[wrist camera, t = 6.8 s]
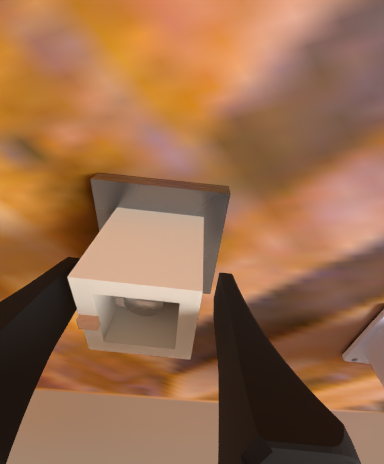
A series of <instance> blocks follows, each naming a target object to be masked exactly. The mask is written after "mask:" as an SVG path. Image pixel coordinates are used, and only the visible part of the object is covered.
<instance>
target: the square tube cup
mask: <svg viewBox="0 0 384 464" xmlns="http://www.w3.org/2000/svg"><path fill="white" fill-rule="evenodd" d="M203 241H204V217H200V216H191V215H182V214H173V213H164V212H155V211H146V210H137V209H127V208H118V207H117V208H116V209H115V211H114V212H113V214H112V215H111V216H110V218H109V219H108V221H107V222H106V223H105V225H104V226H103V228H102V229H101V230H100V232H99V233H98V235H97V236H96V237H95V239H94V240H93V242H92V243H91V244H90V246H89V247H88V249H87V250H86V251H85V253H84V254H83V256H82V257H81V258H80V260H79V261H78V263H77V264H76V265H75V267H74V268H73V270H72V271H71V272H70V274H69V275H68V277H67V278H68V281H69V284H70V288H71V291H72V294H73V298H74V301H75V304H76V307H77V311H78V314H79V316H78V318H77V320H76V321H77V324H78V327H79V329H83V331H84V334H85V337H86V340H87V344H88V347H89V349H91V350H101V351H111V352H120V353H130V354H140V355H149V356H159V357H169V358H179V359H188V360H190V358H191V353H192V347H193V342H194V337H195V331H196V326H197V320H198V315H199V309H200V304H201V298H202V293H203ZM115 296H117V297H126V298H136V299H145V300H155V301H164V302H163V307H162V310H161V311H160V312H159V313H158V314H156V315H153V316H140V315H136V314H134V313H132V312H131V311H129V310H128V309H127V308H126V306H125V307H124V306H116V302H115Z"/></svg>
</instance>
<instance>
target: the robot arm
mask: <svg viewBox="0 0 384 464" xmlns="http://www.w3.org/2000/svg"><path fill="white" fill-rule="evenodd" d="M79 260H80V258H72V257H68V258H66V259H64V260H63V261H61V262H60V263H59V264H57V265H56V266H54V267H53V268H51V269H50V270H49V271H47V272H46V273H44V274H43V275H41V276H40V277H38V278H37V279H35V280H34V281H32V282H31V283H29V284H28V285H26V286H25V287H23V288H22V289H20V290H19V291H17V292H15V293H14V294H12V295H11V296H9V297H7V298H6V299H4V300H3V301H1V302H0V464H6V462H7V459H8V456H9V453H10V451H11V448H12V445H13V442H14V440H15V437H16V435H17V432H18V429H19V426H20V424H21V421H22V419H23V416H24V414H25V411H26V409H27V406H28V404H29V402H30V399H31V396H32V394H33V392H34V390H35V388H36V385H37V383H38V381H39V378H40V376H41V374H42V372H43V370H44V368H45V365H46V363H47V361H48V359H49V357H50V355H51V353H52V351H53V349H54V347H55V345H56V344H57V342H58V340H59V339H60V337H61V335H62V333H63V332H64V330H65V328H66V327H67V325H68V323H69V321H70V320H71V318H72V316H73V315H74V313H75V311H76V309H77V307H76V304H75V301H74V298H73V294H72V291H71V288H70V284H69V281H68V278H67V277H68V275H69V274H70V272H71V271H72V270H73V268H74V267H75V265H76V264H77V263H78V261H79ZM214 327H215V337H216V347H217V358H218V371H219V454H218V455H219V456H218V458H219V459H218V464H361V462H360V460H359V458H358V455H357V453H356V450H355V448H354V445H353V443H352V441H351V439H350V437H349V435H348V433H347V431H346V429H345V427H344V425H343V423H342V422H341V421H340V420H339V419H338V418H337V417H336V416H334V414H332V412H331V411H330V410H329V409H328V408H327V407H326V406H325V405H324V404H323V403H322V402H321V401H320V400H319V399H318V398H317V397H316V396H315V395H314V394H313V393H312V392H311V391H310V390H309V389H308V387H307V386H306V385H305V384H304V383H303V382H302V381H301V380H300V378H299V377H298V376H297V375H296V374H295V373H294V371H293V370H292V369H291V368H290V367H289V365H288V364H287V363H286V362H285V361H284V359H283V358H282V357H281V356H280V354H279V353H278V352H277V350H276V349H275V348H274V346H273V345H272V344H271V342H270V341H269V339H268V338H267V337H266V335H265V334H264V332H263V331H262V329H261V328H260V326H259V324H258V323H257V321H256V320H255V318H254V316H253V315H252V313H251V311H250V309H249V308H248V306H247V304H246V302H245V300H244V298H243V296H242V294H241V292H240V290H239V288H238V286H237V284H236V282H235V279H234V277H233V275H232V274H228V273H219V278H218V282H217V287H216V291H215V296H214ZM342 358H343V360H344V361H347V362H356V363H366V364H370V365H371V366H372V368H373V370H374V372H375V373H376V375H377V377H378V378H379V380H380V382H381V384H382V385H383V387H384V309H383V310H382V311H381V312H380V314H379V315H378V316H377V317H376V318H375V319H374V320H373V321H372V322H371V324H370V325H369V326H368V327H367V328H366V329H365V330H364V331H363V332H362V334H361V335H360V336H359V337H358V338H357V339H356V340H355V341H354V342H353V344H352V345H351V346H350V347H349V348H348V349H347V350H346V351H345V352H344V353H343V355H342Z"/></svg>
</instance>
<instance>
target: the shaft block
mask: <svg viewBox="0 0 384 464" xmlns="http://www.w3.org/2000/svg"><path fill="white" fill-rule="evenodd" d="M90 180H91V186H92V192H93V197H94V203H95V209H96V215H97V221H98V227H99V232H100V230H101V229H102V228H103V226H104V225H105V223H106V222H107V221H108V219H109V218H110V216H111V215H112V214H113V212H114V211H115V209H116V208H117V207H118V208H127V209H137V210H146V211H155V212H164V213H173V214H182V215H191V216H200V217H204V241H203V293H205V294H210V292H211V287H212V282H213V277H214V272H215V267H216V262H217V257H218V253H219V248H220V243H221V238H222V233H223V228H224V223H225V218H226V213H227V208H228V203H229V198H230V190H229V187H228V186H219V185H209V184H200V183H190V182H181V181H171V180H162V179H152V178H143V177H133V176H124V175H115V174H105V173H97V174H96V175H95V176H93V177H92V178H91V179H90ZM115 302H116V306H124V307H125V306H126V308H127V309H128V310H129V311H131V312H132V313H134V314H136V315H140V316H153V315H156V314H158V313H159V312H160V311H161V310H162V307H163V302H164V301H155V300H145V299H136V298H126V297H117V296H115Z"/></svg>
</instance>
